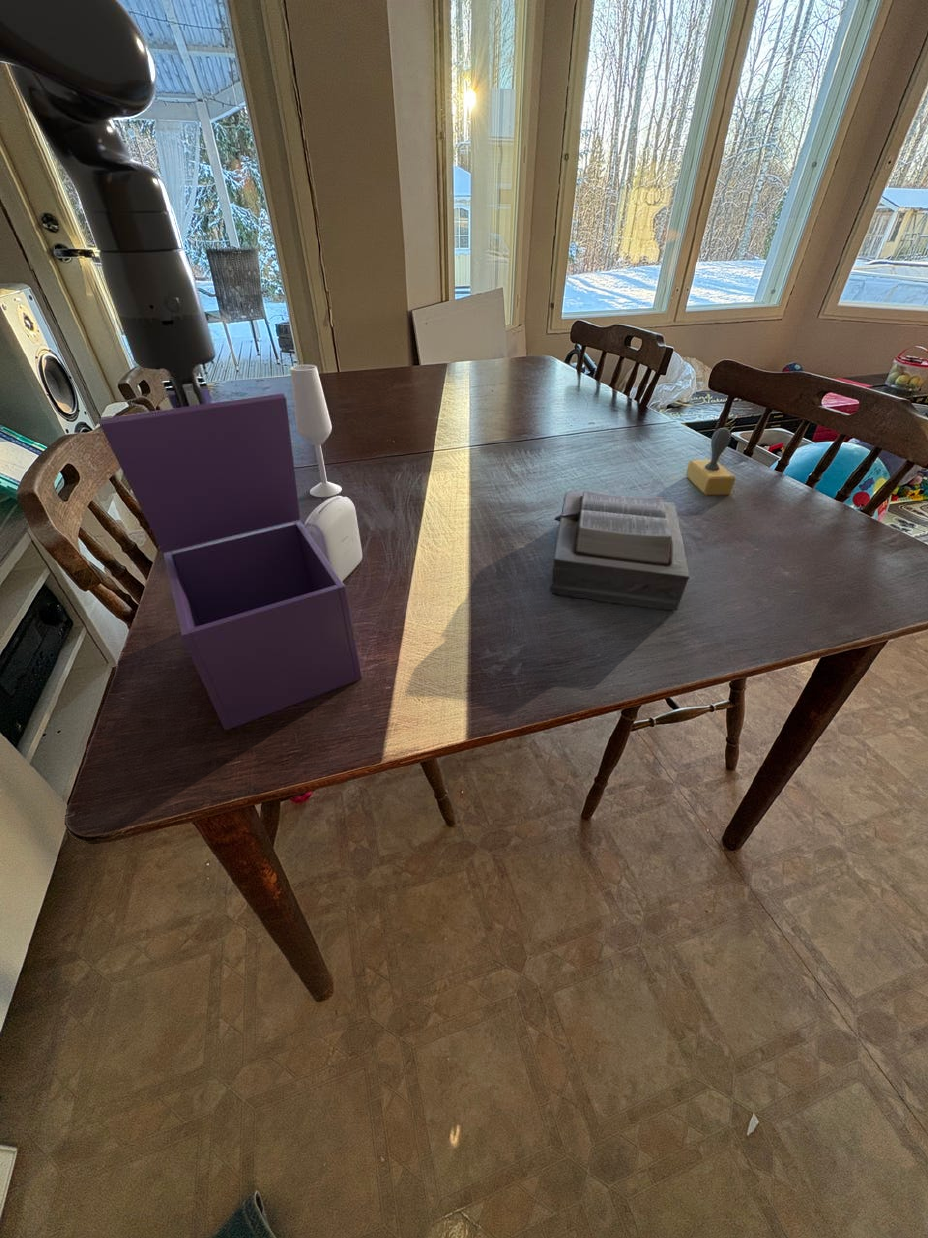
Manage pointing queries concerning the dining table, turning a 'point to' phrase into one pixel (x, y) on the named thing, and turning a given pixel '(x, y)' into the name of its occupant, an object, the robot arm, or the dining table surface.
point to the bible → (620, 550)
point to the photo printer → (336, 534)
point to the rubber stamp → (712, 468)
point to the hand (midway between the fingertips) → (215, 479)
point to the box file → (263, 621)
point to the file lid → (208, 468)
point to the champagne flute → (312, 419)
